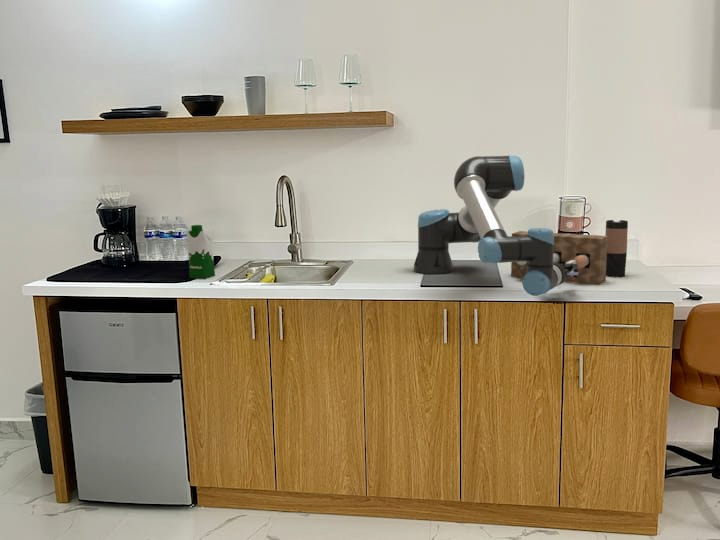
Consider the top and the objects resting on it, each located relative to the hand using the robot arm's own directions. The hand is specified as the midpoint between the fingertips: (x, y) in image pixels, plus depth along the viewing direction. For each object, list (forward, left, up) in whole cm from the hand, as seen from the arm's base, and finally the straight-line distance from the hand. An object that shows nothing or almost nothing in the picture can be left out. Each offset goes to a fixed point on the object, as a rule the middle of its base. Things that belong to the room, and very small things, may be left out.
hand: (573, 264), depth 247 cm
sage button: (-10, +8, -3) cm, 13 cm away
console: (-10, +15, -8) cm, 20 cm away
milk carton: (-129, -43, -9) cm, 136 cm away
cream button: (-20, +8, -3) cm, 22 cm away
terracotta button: (0, +11, -3) cm, 11 cm away
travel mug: (+6, +31, -9) cm, 32 cm away
